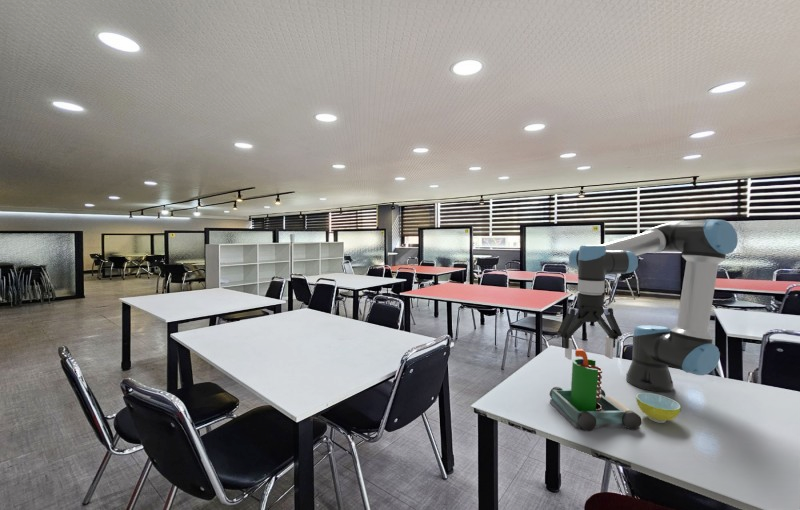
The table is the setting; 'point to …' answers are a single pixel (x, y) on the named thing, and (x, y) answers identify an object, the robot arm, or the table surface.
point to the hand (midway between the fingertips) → (588, 357)
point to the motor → (585, 383)
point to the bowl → (658, 407)
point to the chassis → (594, 412)
